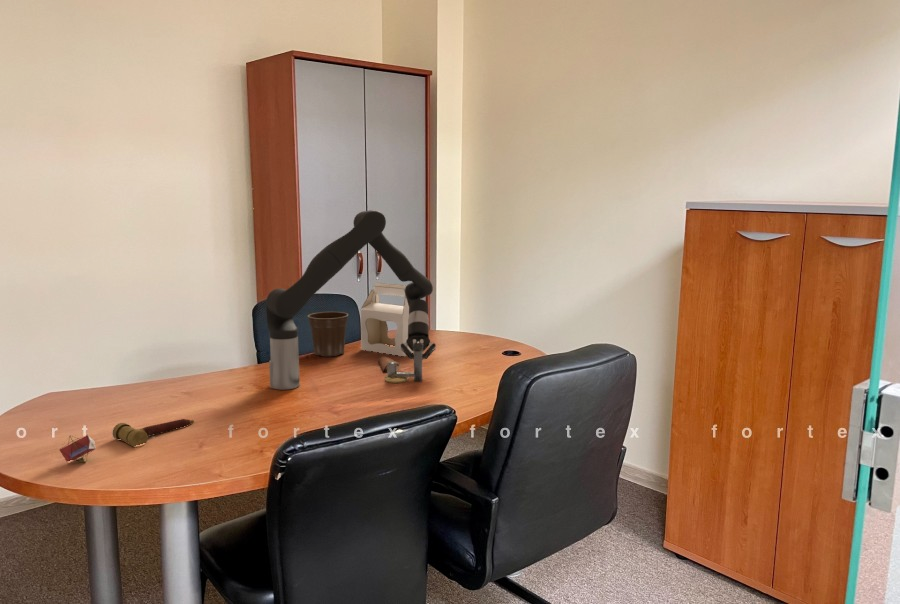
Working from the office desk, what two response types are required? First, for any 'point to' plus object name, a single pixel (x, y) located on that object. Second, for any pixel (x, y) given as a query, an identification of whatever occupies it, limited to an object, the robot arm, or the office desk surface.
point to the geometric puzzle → (78, 448)
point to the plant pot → (328, 332)
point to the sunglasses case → (383, 363)
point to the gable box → (384, 321)
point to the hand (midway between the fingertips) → (418, 368)
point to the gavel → (145, 431)
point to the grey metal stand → (403, 376)
